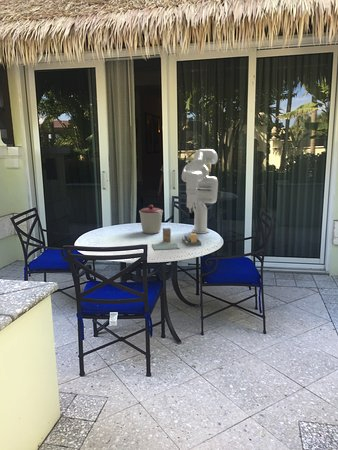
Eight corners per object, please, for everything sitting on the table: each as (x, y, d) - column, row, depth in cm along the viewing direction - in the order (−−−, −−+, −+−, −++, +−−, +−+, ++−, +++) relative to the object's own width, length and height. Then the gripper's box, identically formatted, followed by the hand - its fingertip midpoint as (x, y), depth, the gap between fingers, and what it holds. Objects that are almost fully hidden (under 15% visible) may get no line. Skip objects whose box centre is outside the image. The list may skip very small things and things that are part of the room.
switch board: (182, 240, 249) (182, 235, 248) (196, 239, 251) (196, 234, 250) (186, 245, 236) (186, 240, 235) (201, 245, 237) (201, 240, 237)
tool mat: (152, 245, 238) (152, 244, 238) (175, 243, 240) (175, 243, 240) (154, 250, 226) (154, 249, 226) (179, 248, 229) (179, 248, 229)
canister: (164, 229, 281) (164, 203, 277) (161, 235, 264) (161, 207, 259) (141, 229, 283) (141, 202, 278) (137, 234, 265) (136, 206, 261)
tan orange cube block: (189, 240, 240) (189, 233, 239) (195, 240, 241) (195, 233, 240) (190, 242, 236) (190, 235, 235) (196, 242, 237) (196, 234, 236)
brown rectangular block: (162, 241, 248) (162, 228, 246) (169, 240, 249) (169, 228, 247) (163, 242, 244) (163, 229, 242) (170, 242, 245) (170, 229, 243)
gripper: (184, 189, 242) (184, 216, 247) (189, 193, 228) (188, 221, 233) (194, 189, 244) (194, 215, 248) (200, 192, 229) (200, 220, 234)
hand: (191, 218), depth 240 cm, fingers closed
